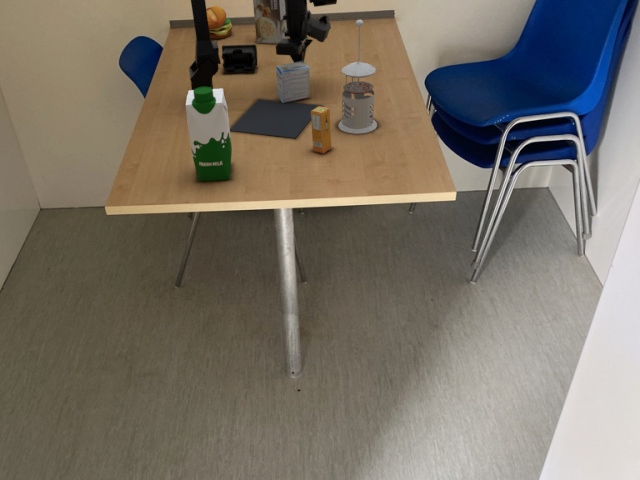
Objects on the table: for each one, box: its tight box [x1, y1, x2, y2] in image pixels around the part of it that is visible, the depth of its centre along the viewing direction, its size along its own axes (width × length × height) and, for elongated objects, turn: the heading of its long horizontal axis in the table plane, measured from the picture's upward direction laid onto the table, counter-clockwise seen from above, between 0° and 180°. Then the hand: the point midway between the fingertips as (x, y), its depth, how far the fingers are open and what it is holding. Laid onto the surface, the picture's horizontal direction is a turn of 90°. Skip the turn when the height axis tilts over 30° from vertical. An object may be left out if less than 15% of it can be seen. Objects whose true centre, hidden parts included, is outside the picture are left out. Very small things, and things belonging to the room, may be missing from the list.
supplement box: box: [310, 106, 332, 155], centre depth 158 cm, size 3×3×10 cm
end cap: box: [221, 44, 258, 75], centre depth 201 cm, size 10×7×7 cm
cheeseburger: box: [206, 5, 233, 39], centre depth 225 cm, size 10×11×10 cm
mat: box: [230, 98, 322, 140], centre depth 176 cm, size 20×18×1 cm
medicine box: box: [275, 61, 310, 103], centre depth 181 cm, size 8×4×9 cm, turn 111°
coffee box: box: [252, 0, 289, 45], centre depth 215 cm, size 9×6×16 cm
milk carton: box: [185, 87, 233, 182], centre depth 148 cm, size 9×9×20 cm
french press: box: [337, 19, 378, 135], centre depth 162 cm, size 10×12×25 cm
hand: (300, 70), depth 184 cm, fingers closed
